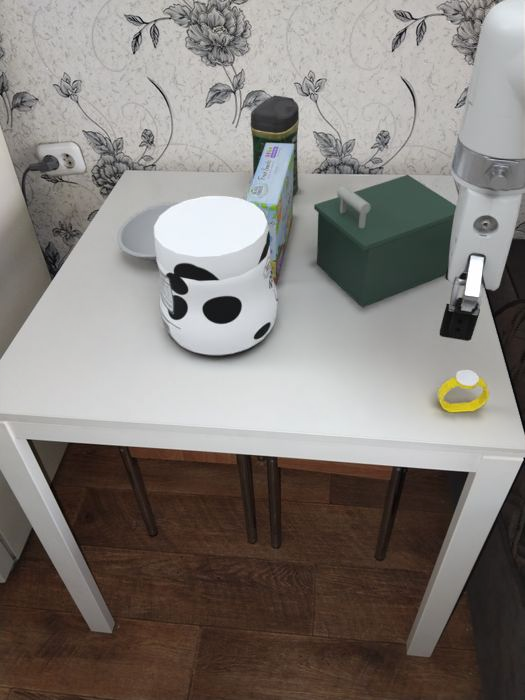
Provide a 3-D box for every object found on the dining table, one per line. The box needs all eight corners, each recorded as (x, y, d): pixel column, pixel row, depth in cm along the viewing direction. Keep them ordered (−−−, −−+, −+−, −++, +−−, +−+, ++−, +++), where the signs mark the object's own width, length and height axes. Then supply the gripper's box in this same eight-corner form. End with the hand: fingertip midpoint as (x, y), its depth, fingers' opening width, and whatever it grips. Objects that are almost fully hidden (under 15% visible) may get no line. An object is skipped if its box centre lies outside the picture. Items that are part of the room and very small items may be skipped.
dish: (177, 288, 97) (173, 264, 94) (104, 270, 102) (97, 246, 98) (223, 233, 109) (221, 209, 105) (156, 219, 113) (152, 196, 110)
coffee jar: (285, 211, 114) (284, 115, 101) (248, 203, 116) (242, 109, 103) (303, 187, 120) (305, 94, 107) (268, 181, 123) (265, 89, 110)
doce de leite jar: (296, 307, 93) (297, 205, 80) (245, 381, 82) (237, 276, 69) (201, 281, 99) (188, 182, 86) (142, 346, 88) (117, 243, 75)
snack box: (280, 286, 97) (278, 204, 86) (246, 283, 98) (240, 202, 87) (295, 217, 112) (295, 141, 101) (265, 216, 113) (263, 140, 102)
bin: (362, 307, 92) (368, 249, 85) (316, 263, 101) (318, 207, 93) (450, 272, 98) (463, 215, 90) (399, 234, 107) (407, 179, 99)
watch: (479, 400, 78) (490, 368, 74) (485, 416, 76) (496, 385, 72) (433, 401, 78) (441, 369, 74) (438, 417, 76) (446, 386, 72)
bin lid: (364, 251, 84) (367, 220, 81) (314, 209, 93) (314, 179, 90) (463, 215, 90) (470, 185, 87) (407, 179, 99) (411, 150, 96)
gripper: (547, 216, 46) (492, 369, 58) (537, 123, 57) (493, 266, 69) (447, 204, 47) (414, 355, 59) (458, 116, 59) (428, 257, 71)
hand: (457, 307), depth 64 cm, fingers open, 9 cm apart
